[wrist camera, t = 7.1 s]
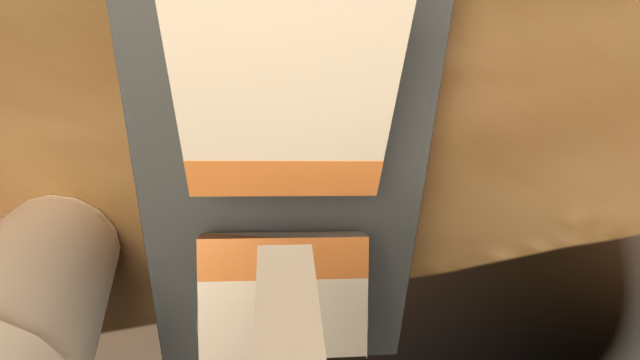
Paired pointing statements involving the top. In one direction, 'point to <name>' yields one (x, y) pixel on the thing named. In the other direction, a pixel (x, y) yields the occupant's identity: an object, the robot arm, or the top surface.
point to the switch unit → (271, 211)
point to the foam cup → (54, 278)
